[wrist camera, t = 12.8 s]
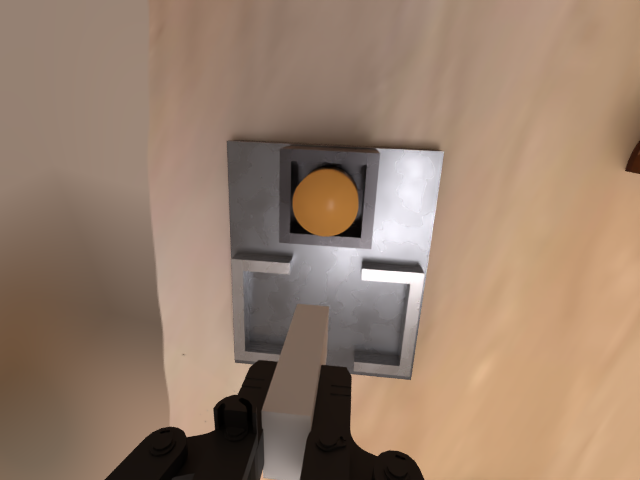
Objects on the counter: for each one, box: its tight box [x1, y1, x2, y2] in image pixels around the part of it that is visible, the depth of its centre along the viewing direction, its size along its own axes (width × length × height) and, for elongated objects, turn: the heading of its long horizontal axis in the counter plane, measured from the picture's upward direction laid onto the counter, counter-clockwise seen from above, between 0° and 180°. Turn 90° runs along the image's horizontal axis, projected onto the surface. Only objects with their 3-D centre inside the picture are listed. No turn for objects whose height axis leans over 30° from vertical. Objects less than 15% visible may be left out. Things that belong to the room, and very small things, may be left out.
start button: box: [293, 166, 358, 236], centre depth 25 cm, size 4×4×3 cm
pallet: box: [227, 140, 444, 380], centre depth 30 cm, size 21×17×6 cm
